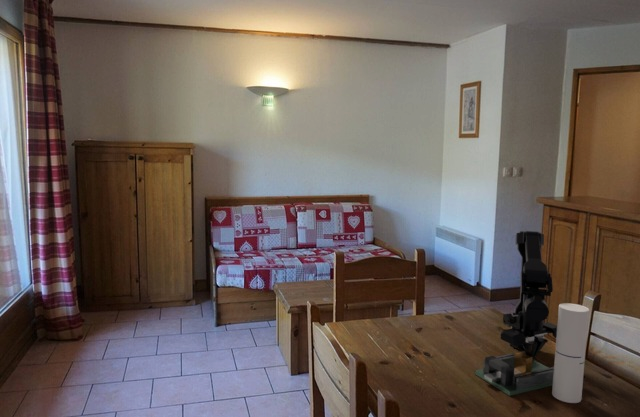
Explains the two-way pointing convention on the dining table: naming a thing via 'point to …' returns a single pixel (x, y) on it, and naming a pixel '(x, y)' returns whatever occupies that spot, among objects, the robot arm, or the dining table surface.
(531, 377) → the green plate fixture
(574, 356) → the cylindrical container
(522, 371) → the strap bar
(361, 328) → the dining table surface
